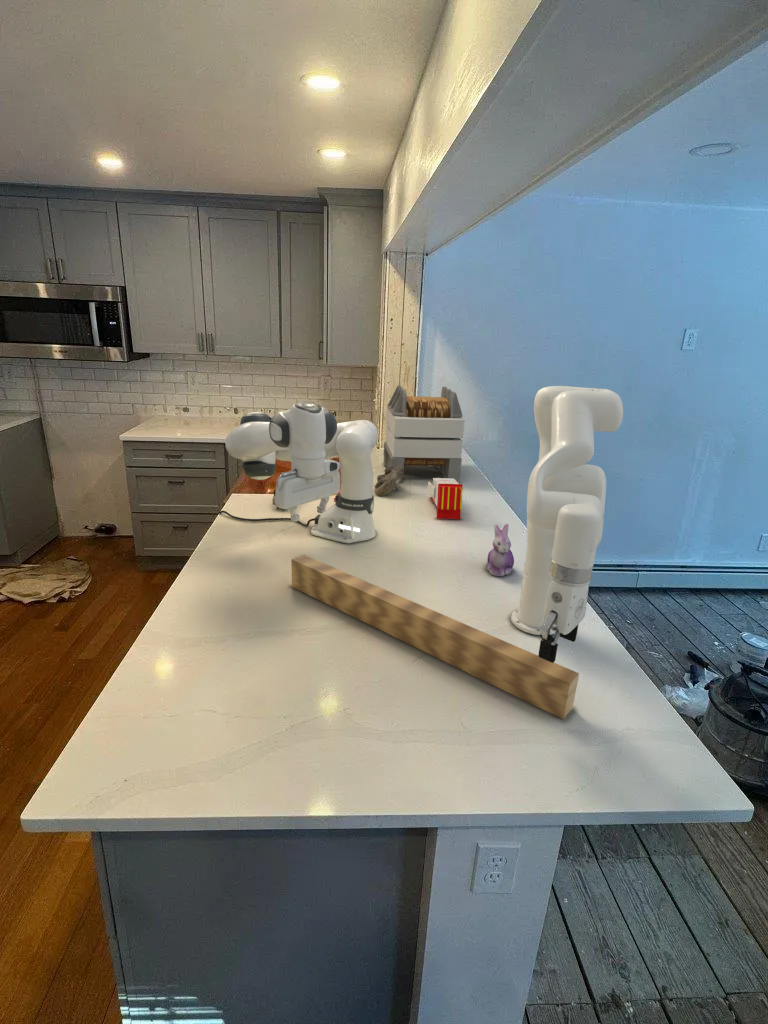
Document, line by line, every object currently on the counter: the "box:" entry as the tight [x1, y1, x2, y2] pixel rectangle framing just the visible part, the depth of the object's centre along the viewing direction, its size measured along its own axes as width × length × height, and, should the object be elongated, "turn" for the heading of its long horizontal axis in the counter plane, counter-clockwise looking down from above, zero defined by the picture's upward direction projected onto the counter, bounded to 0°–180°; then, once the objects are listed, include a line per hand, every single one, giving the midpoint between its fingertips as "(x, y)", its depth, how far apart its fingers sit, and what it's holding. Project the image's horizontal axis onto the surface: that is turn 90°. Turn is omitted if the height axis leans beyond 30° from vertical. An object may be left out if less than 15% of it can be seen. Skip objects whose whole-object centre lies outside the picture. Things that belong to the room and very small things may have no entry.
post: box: [291, 554, 580, 720], centre depth 136 cm, size 80×5×8 cm, turn 50°
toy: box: [427, 477, 464, 520], centre depth 227 cm, size 12×13×30 cm
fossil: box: [374, 466, 405, 497], centre depth 246 cm, size 22×10×15 cm
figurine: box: [486, 523, 515, 577], centre depth 172 cm, size 9×10×15 cm
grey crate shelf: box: [383, 384, 465, 484], centre depth 268 cm, size 34×33×41 cm
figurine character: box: [272, 487, 279, 510], centre depth 222 cm, size 7×8×15 cm
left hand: (308, 516), depth 151 cm, fingers open, 8 cm apart
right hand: (557, 648), depth 111 cm, fingers open, 9 cm apart
